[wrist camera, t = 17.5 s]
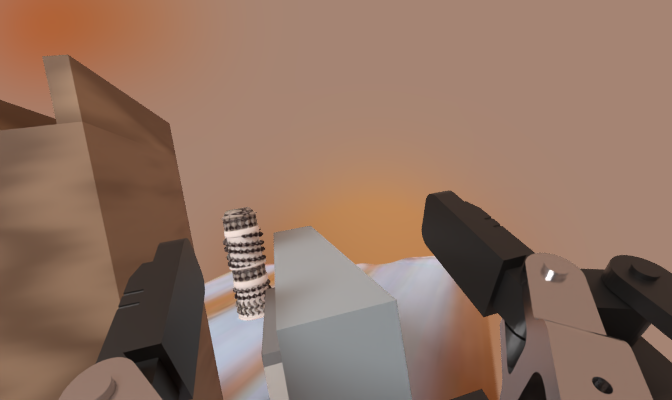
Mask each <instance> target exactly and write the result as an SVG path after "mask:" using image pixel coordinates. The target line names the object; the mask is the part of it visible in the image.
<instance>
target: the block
mask: <svg viewBox="0 0 672 400" xmlns="http://www.w3.org/2000/svg"><path fill="white" fill-rule="evenodd" d="M262 360H263V365H264V370H265V376H266V381H267V387H268V392H269V397H270V400H289V397H288V392H287V386H286V381H285V375H284V370H283V364H282V359H281V353H280V348H279V342H278V337H277V331H276V300H275V288H270V289H266V293H265V309H264V325H263V342H262Z"/></svg>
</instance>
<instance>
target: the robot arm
mask: <svg viewBox="0 0 672 400" xmlns="http://www.w3.org/2000/svg"><path fill="white" fill-rule="evenodd" d="M422 236H423V239H424V242H425V244H426V245H427V247H428V248H429V249H430V251H431V252H432V253H433V254H434V256H435V257H436V258H437V259H438V261H439V262H440V263H441V264H442V266H443V267H444V268H445V269H446V271H447V272H448V273H449V274H450V276H451V277H452V278H453V279H454V281H455V282H456V283H457V284H458V286H459V287H460V288H461V289H462V291H463V292H464V293H465V294H466V296H467V297H468V298H469V299H470V301H471V302H472V303H473V304H474V306H475V307H476V308H477V309H478V311H479V312H480V313H481V314H482V316H483V317H486V316H489V315H493V314H496V313H498V314H499V315H500V316H501V317H502V320H501V323H500V335H501V357H502V378H503V380H502V391H501V395H500V400H672V363H671V362H670V361H669V360H668V359H667V358H666V357H665V356H663V355H662V354H661V353H660V352H659V351H658V350H656V349H655V348H654V347H653V346H652V345H651V344H649V343H648V342H647V341H646V340H645V339H644V338H643V337H641V335H642V334H643V333H644V332H645V331H646V329H647V328H648V327H649V326H650V325H651V324H653V325H654V326H655V327H656V328H658V329H659V330H660V331H661V332H662V333H664V334H665V335H666V336H667V337H669V338H670V339H671V340H672V273H670V272H669V271H667V270H666V269H664V268H662V267H661V266H659V265H657V264H655V263H652V262H650V261H648V260H645V259H642V258H639V257H634V256H628V255H620V256H615V257H614V258H612V259H611V260H610V262H609V264H608V265H607V267H606V269H605V270H598V269H579V268H578V267H577V266H576V265H575V264H573V263H571V262H570V261H568V260H566V259H564V258H562V257H560V256H557V255H553V254H548V253H534V252H533V251H532V250H531V249H529V248H528V247H527V246H526V245H525V244H523V243H522V242H521V241H520V240H519V239H517V238H516V237H515V236H514V235H512V234H511V233H510V232H509V231H508V230H506V229H505V228H504V227H503V226H500V224H499V223H498V222H497V221H495V220H494V219H491V216H489V215H488V214H487V213H486V212H484V211H483V210H482V209H481V208H479V207H477V206H475V205H473V204H470V203H468V202H466V201H465V202H464V201H463V200H462V199H461V198H459V197H458V196H457V195H456V194H455V193H453V192H452V191H443V192H438V193H433V194H429V195H428V196H427V198H426V203H425V210H424V218H423V224H422ZM123 294H124V296H122V298H121V300H120V303H119V305H118V307H119V309H118V310H117V311H116V313H115V316H114V318H113V321H112V323H111V326H110V328H109V331H108V333H107V336H106V338H105V341H104V343H103V346H102V349H101V351H100V354H99V356H98V359H97V361H96V363H95V364H94V365H93V366H91V367H89V368H88V369H86V370H85V371H83V372H82V373H81V374H79V375H78V376H77V377H76V378H75V379H74V380H73V381H72V382H71V383H70V384H69V385H68V386H67V387H66V389H65V390H64V391H63V393H62V394H61V396H60V398H59V399H58V400H191V399H193V395H194V385H195V376H196V367H197V358H198V349H199V340H200V331H201V322H202V313H203V304H204V295H205V286H204V279H203V275H202V272H201V269H200V266H199V264H198V261H197V259H196V256H195V253H194V250H193V248H192V245H191V242H190V241H189V239H188V238H183V239H178V240H172V241H167V242H161V243H159V245H158V247H157V250H156V253H155V256H154V259H153V261H152V262H147V263H142V264H141V266H140V267H139V268H138V269H137V270H136V271H135V272H134V273H133V274H132V276H131V277H130V278H129V280H128V283H127V285H126V288H125V290H124V293H123ZM451 400H488V398H487V396H486V395H485V393H484V392H483V390H482V389H480V390H477V391H475V392H472V393H469V394H466V395H463V396H460V397H457V398H454V399H451Z"/></svg>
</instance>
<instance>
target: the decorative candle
mask: <svg viewBox="0 0 672 400" xmlns="http://www.w3.org/2000/svg"><path fill="white" fill-rule="evenodd" d="M255 213H256V212H254V211H253V210H252V209H251V208H249V207H246V208H240V209H234V210H229V211H227V212H225V214H224V217H223V218H222V219H223V225H224V229H225V231H224V235H225V238H226V239H225V240H224V241H223V244H224V245H226V247H225V248H224V249H225V252H228V253H229V254H228V255H227V260H229V262H228V266H229V267H230V270H232V272H233V277H234V280H233V283H234V288H233V291H234V292H236V294H235V299H237V301H236V306H237V307H238V308H237V312H238V313H239V319H241V320H245V321H248V320H255V319H259V318H262V317H264V309H265V293H266V289H270V288H271V286H270V285H269V283H270V280H269V279H268V276H267V272H266V270H265V264H264V262H266V260H265V258H266V256H265V255H262V251H263V250H265V248H264V247H261V244H263V243H264V241H262V240H259V237H260V236H262V235H263V233H262V232H259V233H258V231H259V230H260V229H259V226H258V225H257V219H256V214H255ZM228 248H229V250H228Z"/></svg>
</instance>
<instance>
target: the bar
mask: <svg viewBox="0 0 672 400" xmlns="http://www.w3.org/2000/svg"><path fill="white" fill-rule="evenodd" d="M274 266H275V300H276V331H277V337H278V342H279V348H280V353H281V359H282V364H283V370H284V375H285V381H286V386H287V392H288V397H289V400H412V396H411V390H410V383H409V377H408V371H407V364H406V358H405V352H404V345H403V339H402V333H401V326H400V320H399V314H398V308H397V301H396V299H395V298H393V297H392V296H391V295H390V294H389V293H388V292H387V291H385V290H384V289H383V288H382V287H381V286H380V285H378V284H377V283H376V282H375V281H374V280H373V279H371V278H370V277H369V276H368V275H367V274H366V273H365V272H363V271H362V270H361V269H360V268H359V267H358V266H356V265H355V264H354V263H353V262H352V261H351V260H349V259H348V258H347V257H346V256H345V255H343V253H341V252H340V251H339V250H338V249H337V248H336V247H334V246H333V245H332V244H331V243H330V242H329V241H327V240H326V239H325V238H324V237H323V236H322V235H320V234H319V233H318V232H317V231H316V230H315V229H313V228H312V227H311V226H307V227H302V228H296V229H291V230H286V231H281V232H276V233H274Z"/></svg>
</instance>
